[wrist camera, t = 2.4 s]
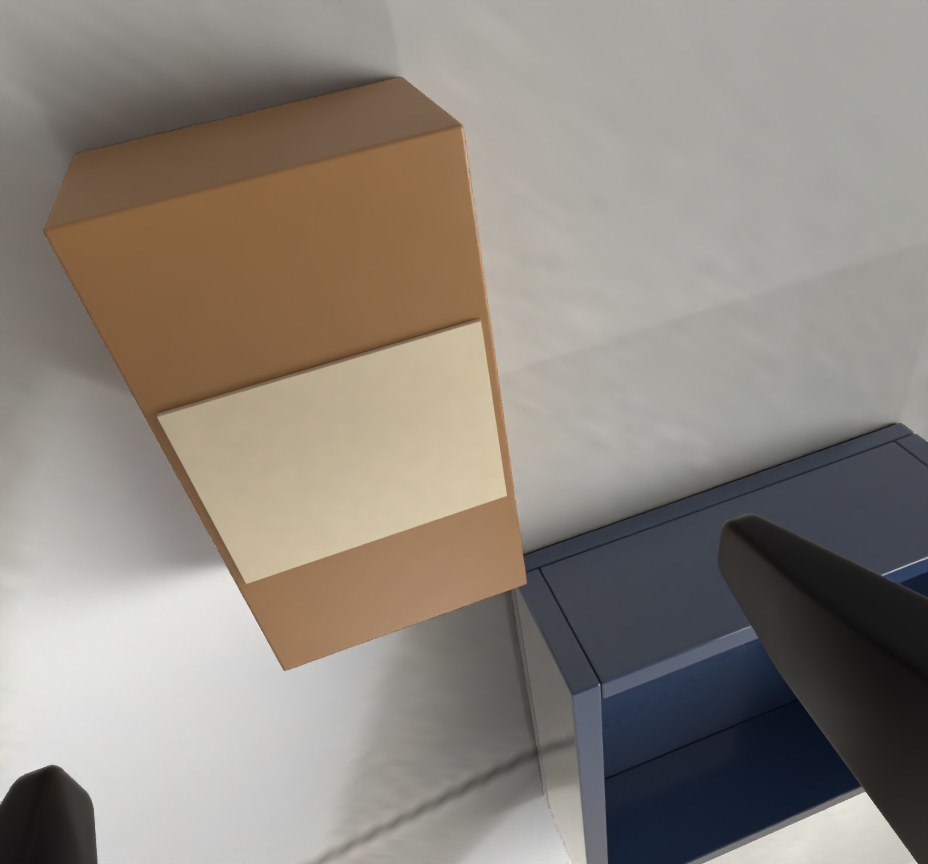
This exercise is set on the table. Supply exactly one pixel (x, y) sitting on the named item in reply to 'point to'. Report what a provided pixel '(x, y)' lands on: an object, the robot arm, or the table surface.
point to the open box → (698, 660)
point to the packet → (310, 353)
